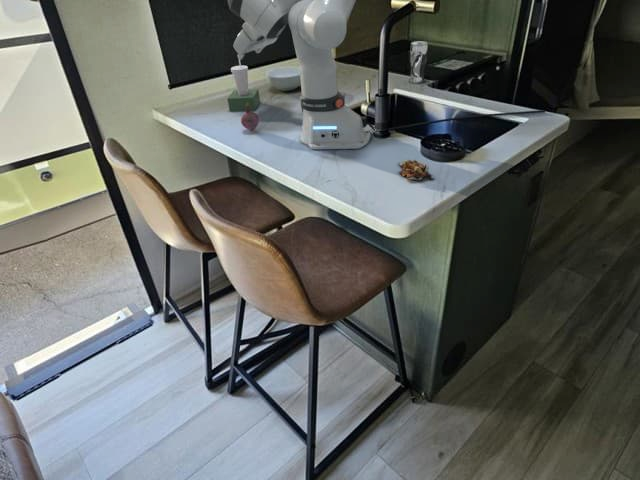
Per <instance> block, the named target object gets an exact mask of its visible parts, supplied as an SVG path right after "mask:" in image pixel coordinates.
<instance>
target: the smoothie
mask: <svg viewBox="0 0 640 480" xmlns="http://www.w3.org/2000/svg"><path fill="white" fill-rule="evenodd" d="M237 58H238V57H237ZM248 71H249V67H248V65H242V63H241V60H240V59H239V58H238V65H235V66H232V67H231V68H230V72H231V73H232V76H233V79H234V83H235V86H236V90H238V93H239V95H247V94H248V90H249V77H248V75H249V74H248Z"/></svg>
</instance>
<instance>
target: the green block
mask: <svg viewBox="0 0 640 480" xmlns="http://www.w3.org/2000/svg"><path fill="white" fill-rule="evenodd" d="M259 92H260V91H259V88H258V89H255V88H254V89H248V94H247V95H239V93H238V90H237V89H233V90H232V92H231V93H230V94H229V95H228V97H227V104H228V110H229V112H246V104H247V103H248V105H249V110H250V111H252V112H254V111H256V110H257V108H258V107H259V105H260V103H261V99H260V93H259Z"/></svg>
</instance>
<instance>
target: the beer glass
mask: <svg viewBox="0 0 640 480" xmlns="http://www.w3.org/2000/svg"><path fill="white" fill-rule="evenodd" d="M428 44H429V43H428V41H424V40H418V41H417V40H416V41H411V42H410V49H409V65H410V76H409V79H408V80H409V83H411V84H421V83H424V82H425V68H426V64H427V59H428V48H429V47H428V46H429V45H428Z"/></svg>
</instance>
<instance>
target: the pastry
mask: <svg viewBox="0 0 640 480" xmlns="http://www.w3.org/2000/svg"><path fill="white" fill-rule="evenodd" d="M399 165H400V166H401V168H402V169H400V171H399V174H400V175H402V176H403V177H405V176H406V178H407V180H414V181H416V180H419V181H421V180H422V179H423V178H424V177H425V176H428V178H429V180H434V176H433V175H432V174H431V173H429V166H428V165H427V164H425V165H424V164H423V163H422V162H418V160H416V159H413V160H412V159H408V158H407V159H404V160H402V161H400V163H399Z"/></svg>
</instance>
